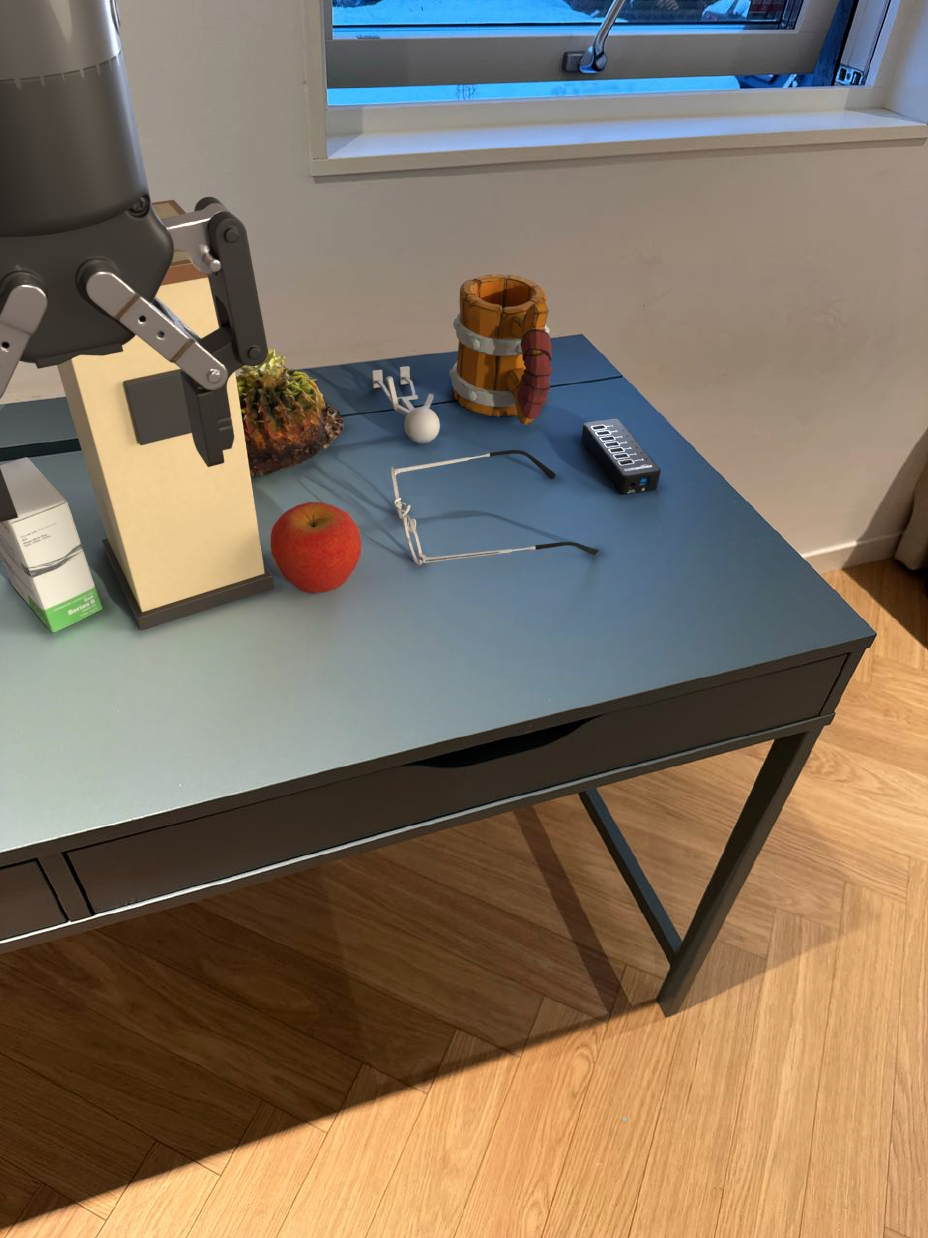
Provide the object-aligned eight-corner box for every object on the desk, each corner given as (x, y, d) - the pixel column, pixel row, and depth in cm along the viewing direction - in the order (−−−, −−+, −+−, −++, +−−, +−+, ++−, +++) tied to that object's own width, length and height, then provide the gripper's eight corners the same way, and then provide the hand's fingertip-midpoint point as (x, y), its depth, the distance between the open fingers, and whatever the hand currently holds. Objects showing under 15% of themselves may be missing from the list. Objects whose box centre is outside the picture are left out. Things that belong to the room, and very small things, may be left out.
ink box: (106, 610, 79) (71, 500, 71) (50, 636, 76) (7, 524, 68) (63, 561, 83) (26, 452, 75) (9, 583, 81) (-35, 473, 73)
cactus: (248, 385, 108) (237, 306, 101) (369, 414, 104) (366, 335, 97) (162, 458, 96) (144, 374, 89) (295, 494, 92) (286, 410, 86)
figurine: (417, 340, 107) (458, 393, 96) (418, 389, 111) (457, 444, 100) (366, 346, 106) (402, 400, 95) (369, 395, 109) (403, 453, 98)
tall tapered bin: (141, 631, 77) (43, 288, 57) (105, 551, 85) (6, 222, 64) (274, 588, 82) (228, 256, 61) (228, 516, 89) (173, 199, 69)
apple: (379, 579, 83) (377, 510, 78) (317, 622, 79) (309, 553, 73) (321, 543, 87) (315, 475, 81) (258, 582, 82) (247, 513, 77)
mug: (515, 365, 114) (525, 245, 104) (578, 431, 103) (597, 305, 93) (436, 380, 111) (439, 257, 100) (493, 449, 100) (503, 320, 90)
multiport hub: (614, 435, 103) (618, 417, 102) (658, 489, 96) (662, 471, 94) (579, 440, 102) (582, 422, 100) (620, 495, 95) (624, 477, 93)
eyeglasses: (379, 490, 93) (378, 449, 90) (550, 470, 97) (555, 430, 94) (412, 591, 82) (412, 548, 79) (603, 564, 86) (611, 522, 83)
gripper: (183, 1, 32) (241, 403, 44) (-290, 27, 27) (-84, 481, 38) (258, 47, 28) (302, 484, 39) (-293, 90, 22) (-58, 585, 33)
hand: (111, 482), depth 38 cm, fingers open, 8 cm apart
